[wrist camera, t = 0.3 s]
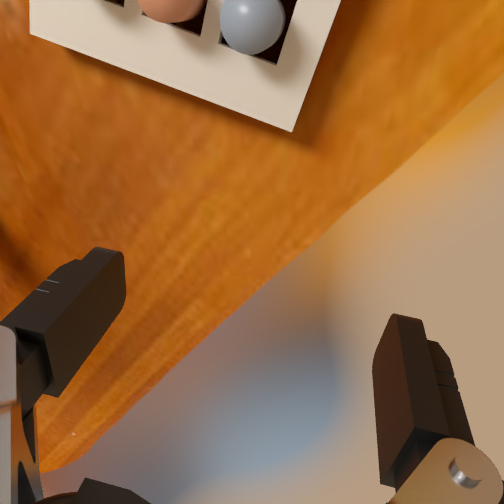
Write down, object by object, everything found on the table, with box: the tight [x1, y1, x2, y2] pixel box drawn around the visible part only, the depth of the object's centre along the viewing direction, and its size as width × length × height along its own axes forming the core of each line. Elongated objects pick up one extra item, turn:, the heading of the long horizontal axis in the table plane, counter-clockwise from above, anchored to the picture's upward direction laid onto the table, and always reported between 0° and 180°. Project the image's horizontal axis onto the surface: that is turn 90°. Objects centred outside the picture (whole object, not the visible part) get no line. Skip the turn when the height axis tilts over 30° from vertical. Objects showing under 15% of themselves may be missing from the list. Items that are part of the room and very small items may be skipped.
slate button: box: [220, 0, 286, 55], centre depth 30 cm, size 4×4×4 cm
